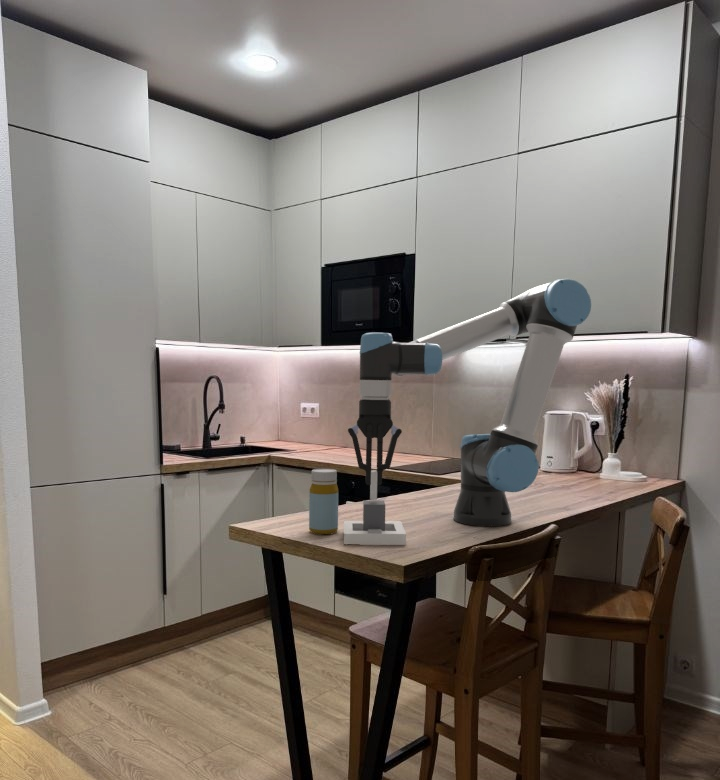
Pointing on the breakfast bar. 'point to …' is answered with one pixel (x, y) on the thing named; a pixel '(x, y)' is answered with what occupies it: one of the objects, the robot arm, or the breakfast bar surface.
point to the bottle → (323, 502)
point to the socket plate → (374, 534)
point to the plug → (373, 515)
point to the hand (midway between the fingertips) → (373, 498)
